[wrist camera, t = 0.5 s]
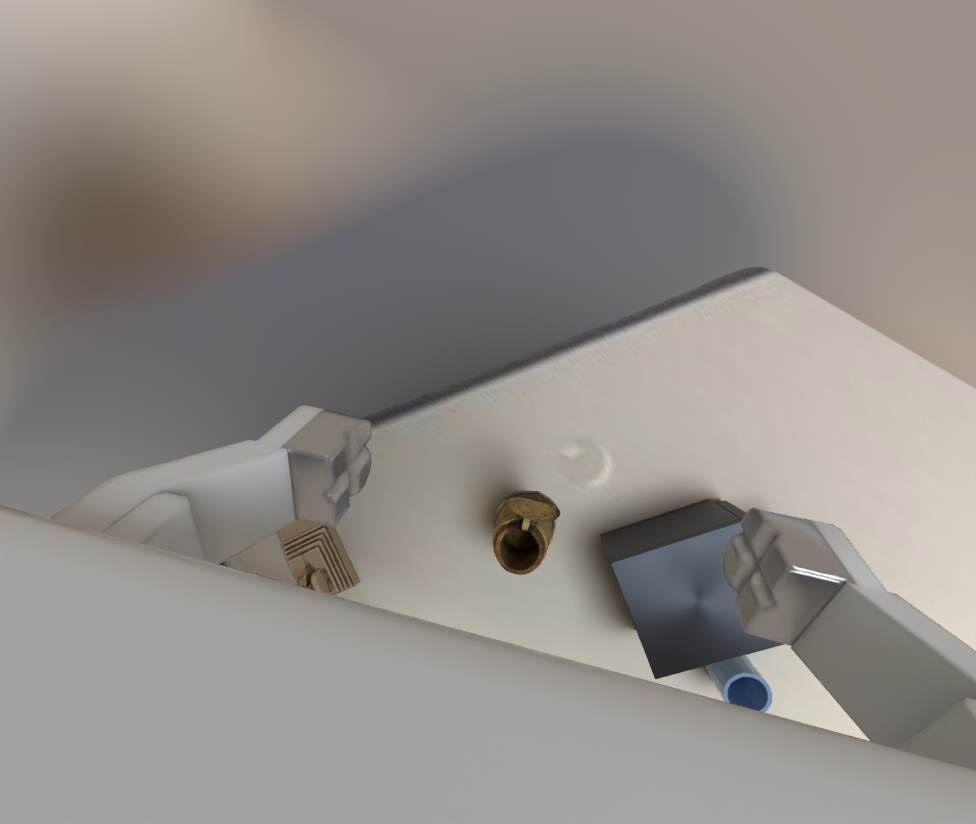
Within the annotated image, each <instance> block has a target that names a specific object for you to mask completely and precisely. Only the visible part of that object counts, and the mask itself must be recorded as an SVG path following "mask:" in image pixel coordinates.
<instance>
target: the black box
mask: <svg viewBox="0 0 976 824" xmlns="http://www.w3.org/2000/svg"><path fill="white" fill-rule="evenodd" d="M740 522H741V519H739V518H738V517H736V516H735V515H733V514H732V513H730V512H728V511H727V510H725V509H724V508H722V507H721V506H719V505H717V504H716V503H714V502H713V501H711V500H710V499H707V500H704V501H701V502H698V503H695V504H692V505H689V506H686V507H683V508H680V509H676V510H673V511H670V512H667V513H664V514H661V515H658V516H655V517H652V518H649V519H646V520H643V521H640V522H637V523H634V524H631V525H628V526H625V527H622V528H619V529H615V530H612V531H609V532H606V533H603V534H600V536H601V539H602V541H603V544H604V547H605V550H606V552H607V555H608V558H609V560H610V563H611V566H612V568H613V571H614V573H615V576H616V579H617V581H618V584H619V586H620V589H621V592H622V594H623V597H624V599H625V602H626V604H627V607H628V610H629V612H630V615H631V617H632V620H633V623H634V625H635V628H636V630H637V633H638V636H639V638H640V641H641V643H642V646H643V648H644V651H645V654H646V656H647V659H648V661H649V664H650V667H651V669H652V672H653V674H654V677H655V679H658V678H662V677H666V676H669V675H673V674H677V673H680V672H684V671H688V670H691V669H695V668H699V667H702V666H706V665H710V664H713V663H717V662H721V661H724V660H728V659H732V658H735V657H739V656H743V655H746V654H750V653H754V652H757V651H761V650H765V649H769V648H772V647H776V646H780V645H783V643H780V642H776V641H773V640H769V639H765V638H762V637H758V636H755V635H751V634H748V633H745V632H744V629H743V627H742V624H741V621H740V618H739V616H738V613H737V610H736V607H735V605H734V601H735V599H736V597H737V596H738V594H737V593H736V592H735V591H734V590H733V589H732V588H731V587H730V586H729V585H728V584H727V582H726V579H725V576H724V573H723V565H722V561H723V555H724V549H725V548H726V546H727V544H728V542H729V540H730V538H731V537H733V536H736V535H738V534H740V533H742V532H743V530H742V527H741V524H740Z"/></svg>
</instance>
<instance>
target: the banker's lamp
mask: <svg viewBox="0 0 976 824" xmlns="http://www.w3.org/2000/svg"><path fill="white" fill-rule="evenodd" d="M277 533H278V535H279V538H280V540H281V542H282V544H281V546H282V549H283V551H284V554H285V558H286V560H287V562H288V564H289V566H290V568H291V571H292V573H293V575H294V577H295V579H296V581H297V583H298V586H300V587H303V588H307V589H311V590H314V591H318V592H322V593H325V594H329V595H335V594H337V593H340V592H342V591H344V590H346V589H349V588H351V587H353V586H356V585H357V584H358V583H359V582H360V580H359V578H358V576H357V574H356V572H355V569H354V567H353V565H352V563H351V561H350V559H349V557H348V555H347V552H346V550H345V548H344V546H343V544H342V542H341V540H340V538H339V535H338V533H337V531H336V529H335V528H333V527H328V526H324V525H319V524H315V523H310V522H306V521H301V520H297V519H296V521H295V522H294V523H292V524H290V525H288V526H286V527H285V528H283V529H281V530H279V531H277Z"/></svg>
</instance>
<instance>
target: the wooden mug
mask: <svg viewBox="0 0 976 824" xmlns="http://www.w3.org/2000/svg"><path fill="white" fill-rule="evenodd" d="M559 515H560V511H559V509H558V507H557V506H556V504H555V503H554V502H553V501H552V500H551V499H550V498H549V497H547V496H546V495H544V494H543V493H541V492H540V491H517V492H514V493H512V494H511V495H510V496H509V497H507V498H505V499H504V500H503V502H502V503H501V504H500V505H499V506H498V508H497V513H496V517H495V522H494V527H495V531H494V537H493V546H494V553H495V556H496V558H497V560H498V561H499V563H500V564H501V566H502V567H503V568H504V569H505V570H506V571H508V572H511V573H514V574H518V575H522V574H527V573H530V572H531V571H533V570H534V569H536V568H537V567H538V566H539V565H540V564H541V563H542V561H543V560H544V558H545V555H546V553H547V549H548V546H549V545H550V543H551V541H552V539H553V537H554V532H555V525H556V522H555V520H556V519H557V518H558V517H559Z"/></svg>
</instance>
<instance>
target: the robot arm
mask: <svg viewBox="0 0 976 824" xmlns="http://www.w3.org/2000/svg"><path fill="white" fill-rule="evenodd" d="M370 438H371V424H370V422H369V421H368V420H366V419H362V418H358V417H354V416H350V415H346V414H342V413H337V412H333V411H329V410H324V409H322V408H317V407H313V406H308V405H302V406H299V407H298V408H297V409H296V410H294V411H293V412H292V413H291V414H289V415H288V416H287V417H286V418H284V419H283V420H282V421H281V422H279V423H278V424H277V425H276V426H274V427H273V428H272V429H271V430H270V431H268V432H267V433H266V434H265V435H263V436H262V437H261V438H259V439H258V440H257V441H253V440H246V441H242V442H239V443H235V444H231V445H228V446H224V447H221V448H217V449H213V450H209V451H206V452H202V453H198V454H195V455H191V456H187V457H184V458H181V459H176V460H173V461H169V462H165V463H162V464H158V465H154V466H151V467H147V468H143V469H140V470H136V471H133V472H129V473H125V474H122V475H118V476H115V477H112V478H111V479H109V480H108V481H106V482H105V483H103V484H102V485H100V486H98V487H97V488H95V489H94V490H92V491H91V492H89V493H87V494H86V495H84V496H83V497H81V498H80V499H78V500H76V501H75V502H73V503H72V504H70V505H69V506H67V507H66V508H64V509H62V510H61V511H59V512H58V513H56V514H55V515H53V516H51V517H50V518H45V517H42V516H38V515H34V514H31V513H27V512H23V511H20V510H16V509H12V508H9V507H5V506H1V505H0V824H976V651H975V650H974V649H972V648H971V647H969V646H968V645H967V644H965V643H964V642H963V641H961V640H960V639H958V638H957V637H956V636H954V635H953V634H951V633H950V632H949V631H947V630H946V629H944V628H943V627H942V626H940V625H939V624H937V623H936V622H935V621H933V620H932V619H930V618H929V617H928V616H926V615H925V614H923V613H922V612H921V611H919V610H918V609H917V608H915V607H914V606H912V605H911V604H910V603H908V602H907V601H905V600H904V599H903V598H901V597H900V596H898V595H897V594H894V593H890V592H887V591H886V589H885V588H884V587H883V585H882V584H881V583H880V581H879V580H878V579H877V577H876V576H875V575H874V573H873V572H872V571H871V569H870V568H869V566H868V565H867V564H866V562H865V561H864V560H863V558H862V557H861V556H860V554H859V553H858V552H857V550H856V549H855V548H854V546H853V545H852V544H851V542H850V541H849V540H848V538H847V537H846V535H845V534H844V533H843V531H842V530H841V529H840V528H838V527H836V526H835V525H833V524H829V523H824V522H819V521H814V520H809V519H801V518H796V517H792V516H787V515H782V514H778V513H773V512H768V511H764V510H759V509H754V508H752V509H750V510H749V511H748V512H747V513H745V515H744V517H743V518H742V520H741V522H740V524H741V527H742V530H743V532H742V533H740V534H738V535H736V536H733V537H731V538H730V540H729V542H728V544H727V546H726V548H725V549H724V555H723V561H722V565H723V573H724V576H725V579H726V582H727V584H728V585H729V586H730V587H731V588H732V589H733V590H734V591H735V592H736V593H737V594H738V596H737V597H736V599H735V601H734V605H735V607H736V610H737V613H738V616H739V618H740V621H741V624H742V627H743V629H744V632H745V633H748V634H751V635H755V636H758V637H762V638H765V639H769V640H773V641H776V642H780V643H783V644H787V645H790V646H792V647H791V649H792V650H793V651H794V652H795V653H796V654H797V656H798V657H799V658H800V659H801V660H802V661H803V663H804V664H805V665H806V666H807V667H808V668H809V670H810V671H811V672H812V673H813V674H814V676H815V677H816V678H817V679H818V680H819V681H820V683H821V684H822V685H823V686H824V687H825V688H826V690H827V691H828V692H829V693H830V694H831V695H832V697H833V698H834V699H835V700H836V701H837V702H838V704H839V705H840V706H841V707H842V708H843V709H844V711H845V712H846V713H847V714H848V715H849V717H850V718H851V719H852V720H853V721H854V722H855V724H856V725H857V726H858V727H859V728H860V729H861V731H862V732H863V733H864V734H865V735H866V736H867V738H868V739H869V740H870V741H867V740H863V739H860V738H856V737H852V736H849V735H845V734H841V733H838V732H834V731H830V730H827V729H823V728H819V727H816V726H812V725H808V724H804V723H801V722H797V721H793V720H790V719H786V718H782V717H779V716H775V715H771V714H768V713H764V712H760V711H757V710H753V709H749V708H746V707H742V706H738V705H735V704H731V703H727V702H723V701H720V700H716V699H712V698H709V697H705V696H701V695H698V694H694V693H690V692H687V691H683V690H679V689H676V688H672V687H668V686H665V685H661V684H657V683H653V682H650V681H646V680H642V679H639V678H635V677H631V676H628V675H624V674H620V673H617V672H613V671H609V670H606V669H602V668H598V667H595V666H591V665H587V664H584V663H580V662H576V661H572V660H569V659H565V658H561V657H558V656H554V655H550V654H547V653H543V652H539V651H536V650H532V649H528V648H525V647H521V646H517V645H514V644H510V643H506V642H503V641H499V640H495V639H491V638H488V637H484V636H480V635H477V634H473V633H469V632H466V631H462V630H458V629H455V628H451V627H447V626H444V625H440V624H436V623H432V622H429V621H425V620H421V619H418V618H414V617H410V616H407V615H403V614H399V613H396V612H392V611H388V610H384V609H381V608H377V607H373V606H370V605H366V604H362V603H359V602H355V601H351V600H348V599H344V598H340V597H336V596H333V595H329V594H325V593H322V592H318V591H314V590H311V589H307V588H303V587H300V586H296V585H292V584H289V583H285V582H281V581H277V580H274V579H270V578H266V577H263V576H259V575H255V574H252V573H248V572H244V571H241V570H237V569H233V568H230V567H226V566H222V565H219V564H220V563H222V562H223V561H225V560H227V559H229V558H231V557H232V556H234V555H236V554H238V553H240V552H241V551H243V550H245V549H247V548H249V547H250V546H252V545H254V544H256V543H258V542H259V541H261V540H263V539H265V538H267V537H268V536H270V535H272V534H274V533H276V532H277V531H279V530H281V529H283V528H285V527H286V526H288V525H290V524H292V523H294V522H295V521H296V519H297V520H301V521H306V522H310V523H315V524H319V525H324V526H328V527H333V528H335V526H336V525H337V523H338V522H339V521H340V519H341V518H342V516H343V515H344V514H345V512H346V511H347V509H348V508H349V507H350V505H349V497H351V496H353V495H356V494H358V493H359V492H360V491H361V489H362V488H363V486H364V485H365V483H366V480H367V478H368V475H369V473H370V467H371V452H370V451H369V449H368V448H367V446H366V443H367V442H368V441H369V439H370Z"/></svg>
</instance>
